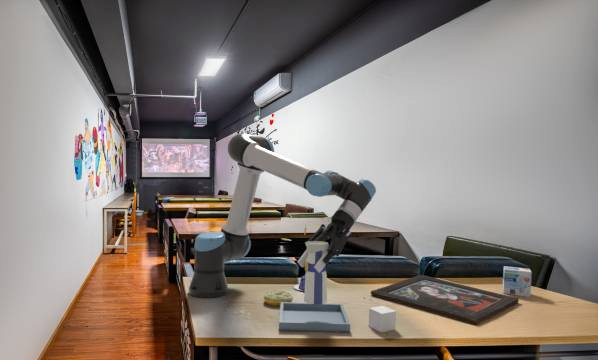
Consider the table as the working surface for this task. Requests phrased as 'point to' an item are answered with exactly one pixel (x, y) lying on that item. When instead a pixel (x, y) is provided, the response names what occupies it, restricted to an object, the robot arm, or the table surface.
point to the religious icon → (447, 298)
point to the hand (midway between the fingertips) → (308, 267)
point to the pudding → (301, 284)
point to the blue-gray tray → (313, 317)
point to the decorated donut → (277, 297)
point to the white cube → (382, 318)
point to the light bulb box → (517, 281)
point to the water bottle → (315, 273)
